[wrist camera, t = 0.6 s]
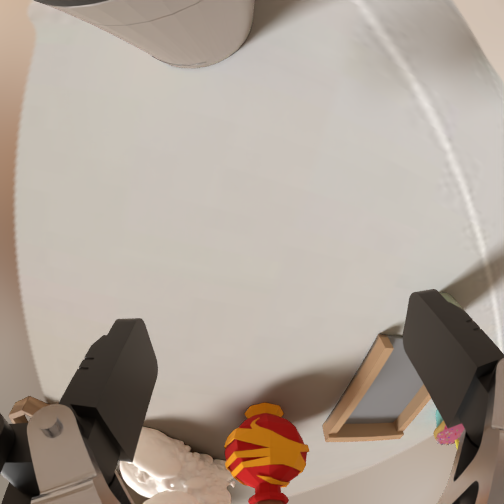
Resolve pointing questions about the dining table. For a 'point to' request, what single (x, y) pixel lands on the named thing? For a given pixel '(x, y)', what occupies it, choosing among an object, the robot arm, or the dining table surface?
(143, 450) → the white lumpy branched piece
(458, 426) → the cupcake
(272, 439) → the potion bottle
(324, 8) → the dining table surface
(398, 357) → the wooden shallow tray
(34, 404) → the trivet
